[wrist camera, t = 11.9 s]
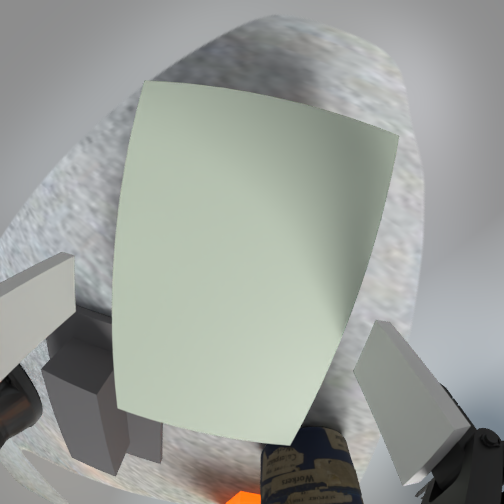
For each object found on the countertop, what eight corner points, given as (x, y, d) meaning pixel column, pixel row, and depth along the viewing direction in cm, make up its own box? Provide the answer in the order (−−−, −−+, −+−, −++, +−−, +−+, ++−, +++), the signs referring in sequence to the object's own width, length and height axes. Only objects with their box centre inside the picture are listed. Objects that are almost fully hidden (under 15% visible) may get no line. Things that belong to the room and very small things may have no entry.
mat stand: (72, 424, 27) (52, 455, 21) (46, 293, 22) (4, 322, 16) (162, 457, 28) (150, 497, 21) (168, 334, 23) (142, 383, 16)
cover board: (130, 385, 17) (117, 408, 15) (162, 94, 12) (144, 80, 10) (287, 418, 17) (289, 445, 15) (377, 141, 13) (399, 135, 10)
